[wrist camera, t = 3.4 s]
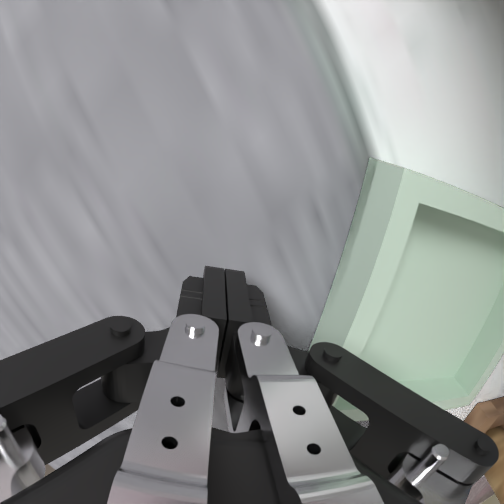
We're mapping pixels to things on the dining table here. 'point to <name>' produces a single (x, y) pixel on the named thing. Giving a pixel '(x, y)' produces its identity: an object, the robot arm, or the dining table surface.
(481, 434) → the robot arm
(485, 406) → the socket
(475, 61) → the dining table surface
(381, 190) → the tray
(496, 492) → the dowel
